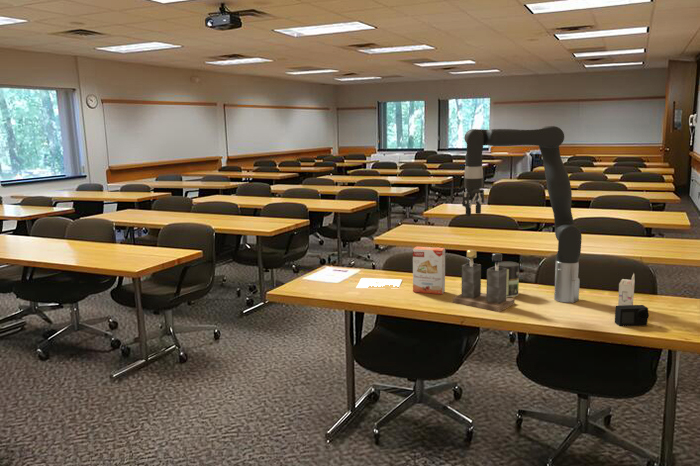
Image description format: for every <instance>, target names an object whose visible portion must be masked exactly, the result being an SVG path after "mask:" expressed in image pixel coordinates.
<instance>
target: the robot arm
mask: <svg viewBox="0 0 700 466" xmlns="http://www.w3.org/2000/svg"><path fill="white" fill-rule="evenodd" d="M564 141H565V132H564V131H563V130H562V129H561V128H560V127H559V126H555V125H548V126H544V127H542V128H537V129H536V128H535V129H518V128H517V129H514V128H513V129H512V128H492V129H482V128H479V129H478V128H471V129H469V130H467V131H466V132H465V134H464V142H465V143H466V153H465V157H464V160H465V161H464V164H465V165H464V166H465V168H464V188H465V189H466V191H463V192H462V204H461V205H462V207H464V208H465V217H471V216H472V205H473V204H475V214H477V215H480V214H481V213H482V204H484V203H485V191H484V189H483V185H484V184H483V181H484V179H483V178H484V174H483V173H484V171H483V151H484V146H492V147H510V146H511V147H512V146H537V147H539V150H540V151H539V152H540V154H541V156H542V157H541V158H542V161H543V169H544V175H545V181H546V188H547V193H548V198H549V201H550V206H551V209H552V214H553V218H554V220H553V221H554V234H555V237H556V239H557V242H558V243H557V253H556V255H555V269H554V296H553V297H554V298H553V299H554V300H555V301H557V302H561V303H570V304H571V303H572V304H573V303H576V302H577V301H579V298H580V297H579V296H580V280H581V279H580V278H579V265H580V264H579V263H580V262H579V260H580V257H581V253H582V252H581V251H582V240H583V239H582V232H581V230H580V229H579V228H578V227H577V226H576V224H575V222H574V218H573V213H572V201H573V200H572V198H573V197H572V195H573V193H572V185H571V181H570V177H569V173H568V171H567V169H566V167H565V164H564V162H563V160H562V156H561V152H560V146H562V144H563V143H564Z"/></svg>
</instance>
